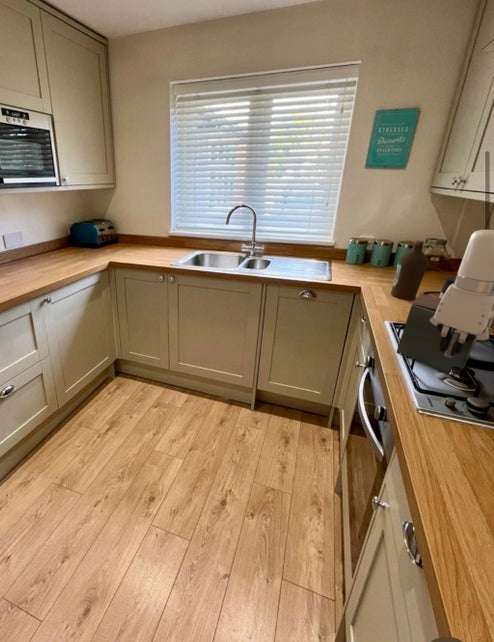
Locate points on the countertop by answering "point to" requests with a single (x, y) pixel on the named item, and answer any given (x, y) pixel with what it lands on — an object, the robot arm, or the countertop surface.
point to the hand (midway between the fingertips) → (448, 351)
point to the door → (430, 342)
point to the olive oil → (410, 273)
